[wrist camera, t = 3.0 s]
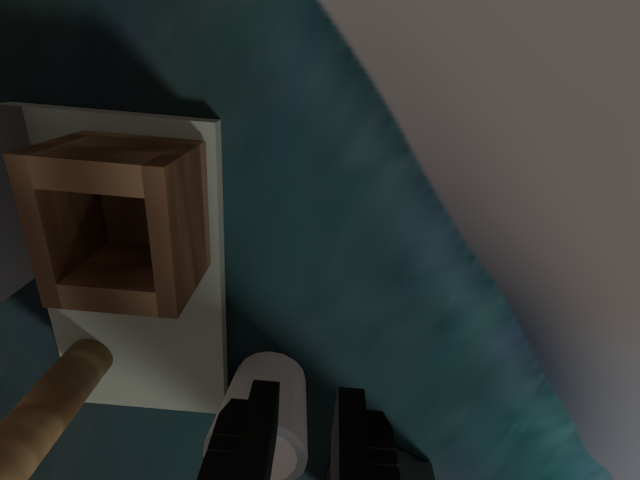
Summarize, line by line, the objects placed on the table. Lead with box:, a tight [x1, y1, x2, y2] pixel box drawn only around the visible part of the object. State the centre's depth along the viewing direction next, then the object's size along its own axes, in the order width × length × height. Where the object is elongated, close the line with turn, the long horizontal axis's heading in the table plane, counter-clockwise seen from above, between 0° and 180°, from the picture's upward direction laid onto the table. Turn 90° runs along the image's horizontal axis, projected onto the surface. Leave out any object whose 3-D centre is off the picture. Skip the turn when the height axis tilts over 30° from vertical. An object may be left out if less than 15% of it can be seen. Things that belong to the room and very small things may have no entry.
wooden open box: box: [2, 130, 211, 319], centre depth 21 cm, size 7×8×6 cm
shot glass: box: [203, 351, 308, 480], centre depth 29 cm, size 7×7×7 cm
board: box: [0, 102, 228, 414], centre depth 28 cm, size 12×23×1 cm, turn 176°
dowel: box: [0, 339, 113, 480], centre depth 24 cm, size 3×3×12 cm
